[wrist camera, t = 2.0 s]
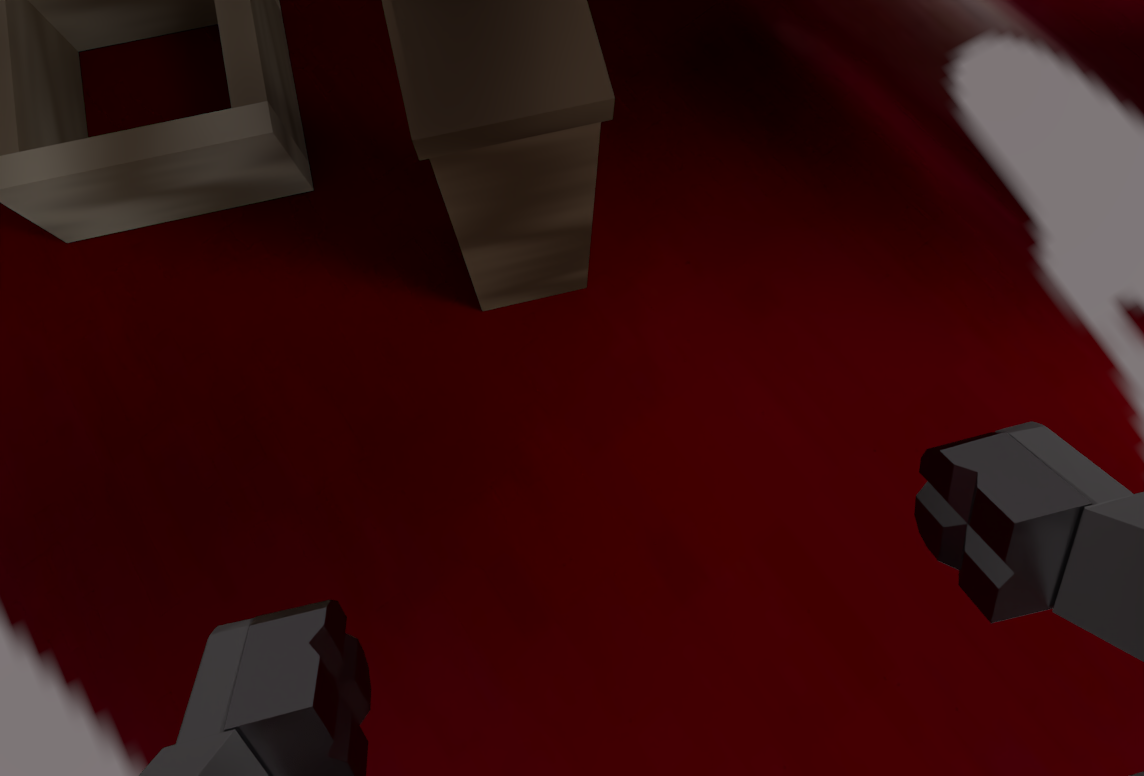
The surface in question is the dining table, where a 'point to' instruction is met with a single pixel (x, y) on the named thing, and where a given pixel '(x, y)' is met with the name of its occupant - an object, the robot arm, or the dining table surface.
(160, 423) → the dining table surface
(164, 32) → the frame
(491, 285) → the brown capped wooden post
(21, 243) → the dining table surface
